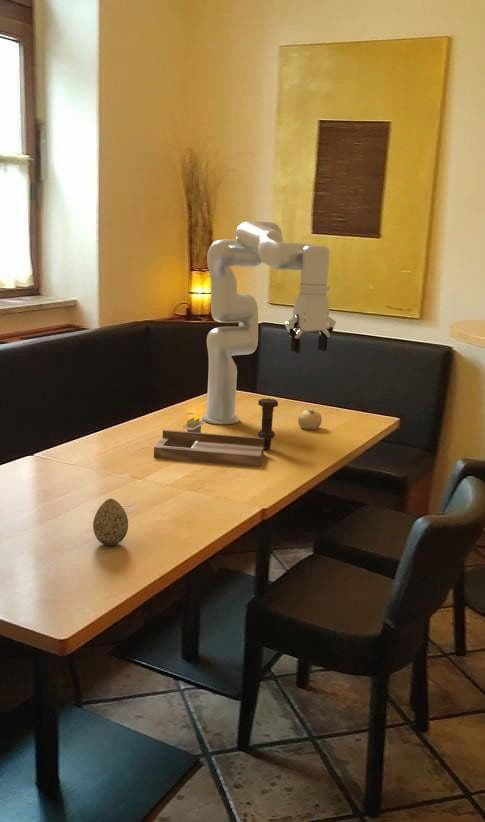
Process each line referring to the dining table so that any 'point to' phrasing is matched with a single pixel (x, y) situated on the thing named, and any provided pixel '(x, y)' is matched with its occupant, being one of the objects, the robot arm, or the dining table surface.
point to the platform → (194, 425)
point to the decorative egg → (110, 523)
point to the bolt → (267, 421)
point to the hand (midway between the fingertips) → (308, 351)
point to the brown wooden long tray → (210, 448)
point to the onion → (309, 419)
